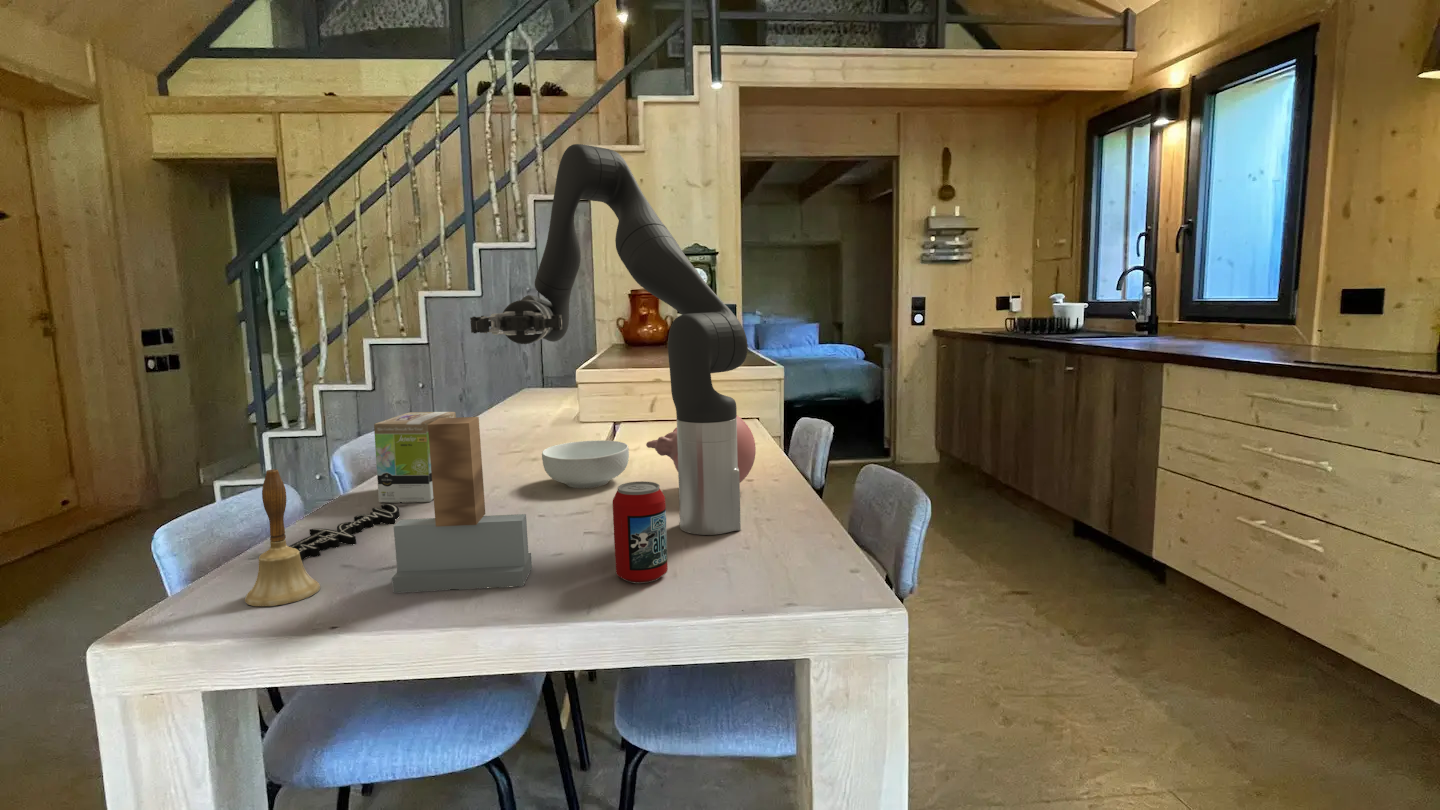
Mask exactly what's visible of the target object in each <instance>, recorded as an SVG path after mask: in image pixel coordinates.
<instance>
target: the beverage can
mask: <svg viewBox="0 0 1440 810" xmlns="http://www.w3.org/2000/svg"><path fill="white" fill-rule="evenodd" d="M666 506H667V505H666V496H665V495H664V492H663V491H662V489H661V488H660V484H658V483H657V482H654V481H645V480H644V481H642V480H641V481H631V482H630V481H629V482H625V483H622V484H619V485H618V486H617V489H616V492H615V494H614V497H613V499H612V519H613V520H612V521H613V523H612V524H613V541H614V542H613V544H614V545H613V547H614V559H615V560H614V561H615V574H616V575H617V576H618V577H619V578H620V579H623V580H624V581H626V582H628V583H633V584H646V583H651V582H654V581H657V580H659V579H660V578H661V577H663V575H665V574H666V573H667V572H668V539H667V538H668V533H667V532H668V530H667V511H666V510H667V507H666Z"/></svg>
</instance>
